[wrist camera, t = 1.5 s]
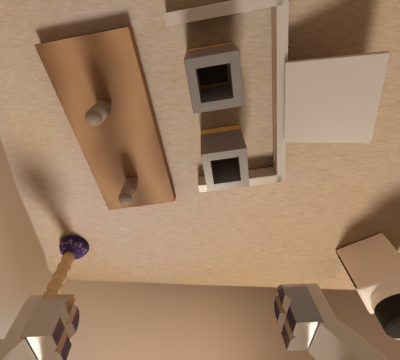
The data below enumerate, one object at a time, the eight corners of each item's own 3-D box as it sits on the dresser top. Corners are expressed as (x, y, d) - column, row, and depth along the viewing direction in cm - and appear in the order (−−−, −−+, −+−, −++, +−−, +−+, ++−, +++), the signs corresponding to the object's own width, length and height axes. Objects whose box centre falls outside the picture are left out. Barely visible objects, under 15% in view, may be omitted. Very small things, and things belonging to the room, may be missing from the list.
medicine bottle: (334, 249, 41) (377, 327, 31) (381, 231, 39) (444, 308, 29) (347, 274, 45) (390, 351, 34) (392, 258, 42) (452, 336, 32)
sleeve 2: (238, 124, 30) (246, 148, 25) (241, 158, 32) (249, 185, 27) (200, 130, 30) (200, 154, 25) (206, 163, 33) (207, 191, 28)
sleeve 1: (231, 41, 25) (239, 50, 20) (235, 88, 28) (243, 105, 23) (186, 49, 26) (183, 60, 21) (194, 94, 28) (193, 113, 23)
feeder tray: (370, -27, 23) (412, -35, 18) (341, 164, 33) (363, 188, 28) (166, 12, 24) (158, 13, 20) (199, 183, 34) (199, 209, 30)
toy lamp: (88, 234, 39) (27, 359, 25) (96, 255, 42) (45, 379, 28) (56, 235, 40) (-22, 360, 26) (66, 256, 42) (0, 380, 28)
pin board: (130, 26, 25) (114, 30, 20) (175, 195, 36) (171, 224, 31) (40, 43, 25) (5, 51, 21) (111, 204, 36) (98, 233, 32)
